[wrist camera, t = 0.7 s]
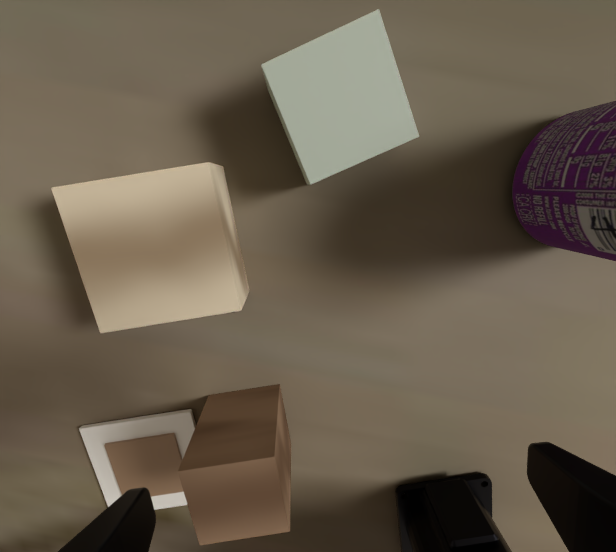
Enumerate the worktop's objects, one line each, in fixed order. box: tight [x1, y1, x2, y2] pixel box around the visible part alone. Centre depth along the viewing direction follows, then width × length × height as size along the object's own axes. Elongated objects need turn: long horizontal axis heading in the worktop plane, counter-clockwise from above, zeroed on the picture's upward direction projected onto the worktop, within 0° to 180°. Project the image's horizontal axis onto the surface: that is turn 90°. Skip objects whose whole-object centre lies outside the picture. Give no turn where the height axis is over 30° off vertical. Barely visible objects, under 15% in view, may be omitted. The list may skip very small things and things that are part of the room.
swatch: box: [79, 409, 196, 510], centre depth 22 cm, size 7×7×1 cm
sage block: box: [261, 9, 419, 185], centre depth 16 cm, size 5×5×4 cm
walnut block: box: [178, 384, 291, 545], centre depth 19 cm, size 4×4×6 cm
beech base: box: [51, 162, 249, 333], centre depth 18 cm, size 7×7×4 cm
